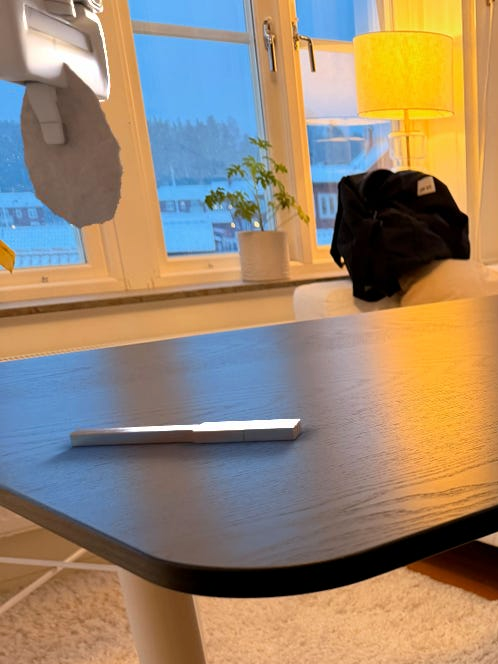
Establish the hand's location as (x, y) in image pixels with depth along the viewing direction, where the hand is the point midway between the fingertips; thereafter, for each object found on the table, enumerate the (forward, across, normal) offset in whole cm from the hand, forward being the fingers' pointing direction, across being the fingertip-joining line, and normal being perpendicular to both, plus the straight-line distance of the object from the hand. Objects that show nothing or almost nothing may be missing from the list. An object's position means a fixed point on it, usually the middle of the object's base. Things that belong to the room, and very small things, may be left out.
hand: (65, 146), depth 86 cm
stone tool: (+8, 0, -1) cm, 8 cm away
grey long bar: (+23, -28, -16) cm, 39 cm away
